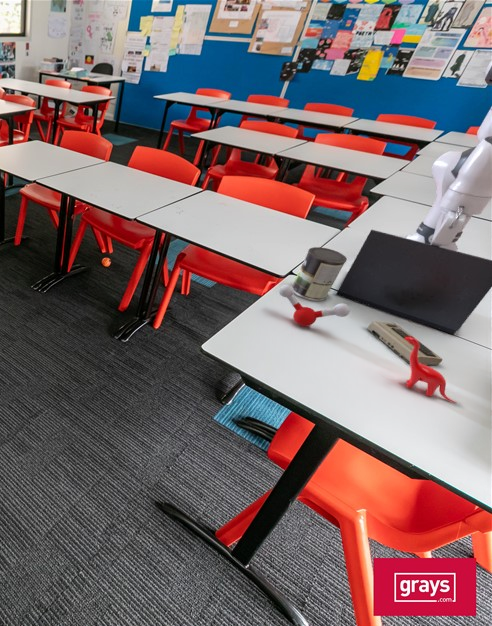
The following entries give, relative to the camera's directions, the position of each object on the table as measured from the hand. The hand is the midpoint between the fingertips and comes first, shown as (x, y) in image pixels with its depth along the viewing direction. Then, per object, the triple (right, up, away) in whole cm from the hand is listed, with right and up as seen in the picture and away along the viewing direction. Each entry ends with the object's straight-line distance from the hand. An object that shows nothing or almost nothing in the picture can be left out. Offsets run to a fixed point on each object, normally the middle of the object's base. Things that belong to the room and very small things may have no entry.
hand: (431, 250), depth 119 cm
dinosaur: (-20, -36, -17) cm, 45 cm away
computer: (-12, -27, -3) cm, 30 cm away
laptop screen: (-1, -8, +4) cm, 9 cm away
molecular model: (-34, -21, +4) cm, 41 cm away
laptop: (+5, -14, +17) cm, 23 cm away
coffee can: (-22, -11, +19) cm, 31 cm away
